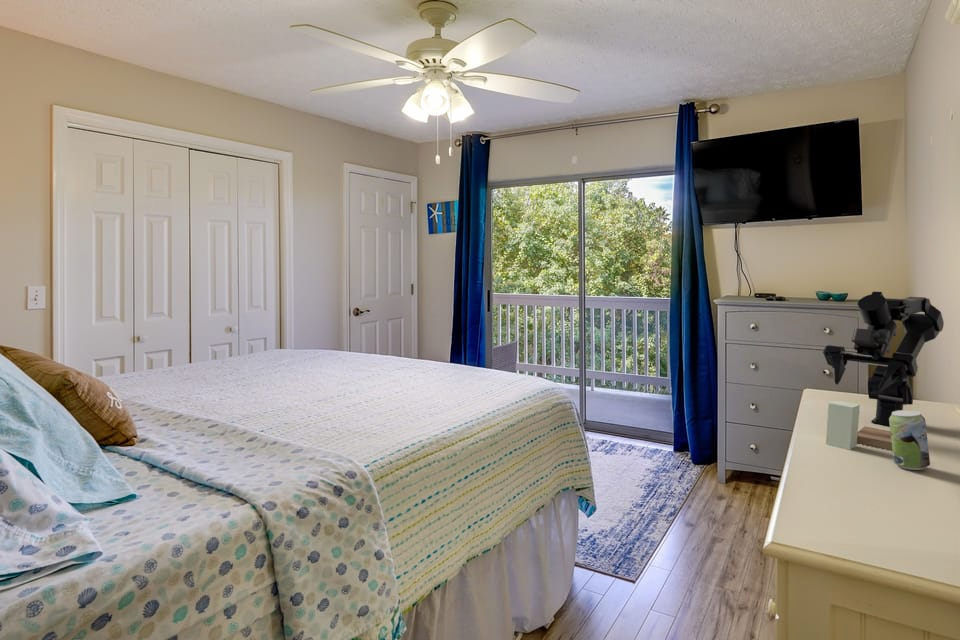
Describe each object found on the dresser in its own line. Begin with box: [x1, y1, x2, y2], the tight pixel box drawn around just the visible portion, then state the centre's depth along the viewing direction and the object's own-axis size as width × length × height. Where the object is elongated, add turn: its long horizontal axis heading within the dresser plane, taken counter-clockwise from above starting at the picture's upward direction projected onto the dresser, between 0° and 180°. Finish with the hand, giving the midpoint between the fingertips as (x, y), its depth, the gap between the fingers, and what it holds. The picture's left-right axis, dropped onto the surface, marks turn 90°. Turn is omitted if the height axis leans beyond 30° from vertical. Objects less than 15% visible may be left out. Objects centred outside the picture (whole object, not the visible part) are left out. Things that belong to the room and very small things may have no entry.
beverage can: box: [889, 409, 931, 471], centre depth 116 cm, size 6×7×12 cm
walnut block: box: [857, 425, 893, 452], centre depth 131 cm, size 10×10×2 cm
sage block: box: [825, 400, 860, 451], centre depth 130 cm, size 4×5×10 cm
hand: (857, 386), depth 133 cm, fingers open, 9 cm apart
